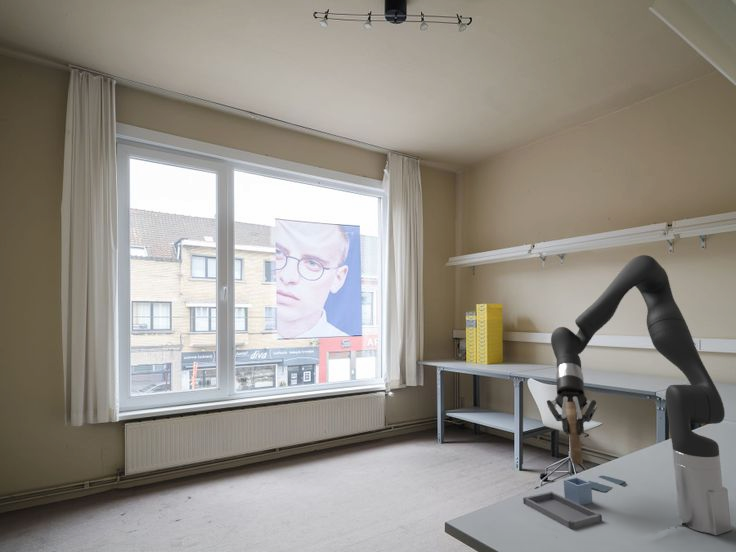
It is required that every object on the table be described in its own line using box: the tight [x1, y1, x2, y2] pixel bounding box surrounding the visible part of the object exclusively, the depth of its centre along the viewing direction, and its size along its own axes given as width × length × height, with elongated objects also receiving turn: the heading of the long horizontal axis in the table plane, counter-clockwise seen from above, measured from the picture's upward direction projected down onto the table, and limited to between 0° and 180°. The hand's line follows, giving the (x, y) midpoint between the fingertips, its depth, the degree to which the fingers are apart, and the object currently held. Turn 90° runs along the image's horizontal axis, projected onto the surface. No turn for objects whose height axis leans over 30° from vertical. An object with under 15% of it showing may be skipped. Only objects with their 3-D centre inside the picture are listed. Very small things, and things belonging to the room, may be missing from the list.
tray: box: [522, 491, 603, 530], centre depth 111 cm, size 16×10×2 cm, turn 22°
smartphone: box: [587, 475, 627, 494], centre depth 129 cm, size 8×2×15 cm
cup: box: [563, 477, 593, 506], centre depth 117 cm, size 5×5×6 cm
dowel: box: [565, 402, 584, 465], centre depth 119 cm, size 3×3×16 cm
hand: (573, 433), depth 118 cm, fingers closed on dowel, 2 cm apart
